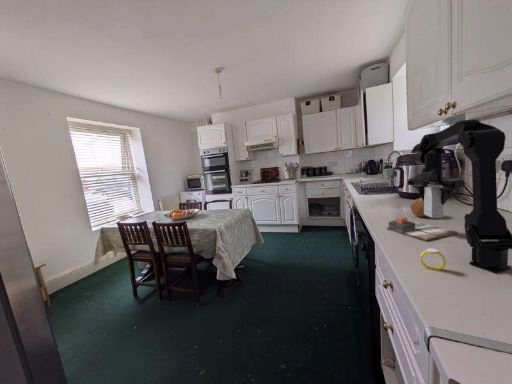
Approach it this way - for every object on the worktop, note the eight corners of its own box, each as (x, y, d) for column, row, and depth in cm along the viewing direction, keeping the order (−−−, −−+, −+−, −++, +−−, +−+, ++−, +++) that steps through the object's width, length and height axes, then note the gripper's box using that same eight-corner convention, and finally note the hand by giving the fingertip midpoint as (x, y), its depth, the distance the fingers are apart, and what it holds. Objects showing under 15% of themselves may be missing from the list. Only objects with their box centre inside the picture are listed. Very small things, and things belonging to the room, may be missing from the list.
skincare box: (443, 217, 89) (444, 188, 87) (431, 218, 90) (431, 189, 88) (434, 213, 95) (435, 186, 93) (423, 214, 96) (423, 187, 94)
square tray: (457, 233, 90) (457, 224, 90) (425, 241, 86) (425, 232, 85) (415, 223, 107) (415, 215, 107) (387, 229, 103) (386, 221, 103)
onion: (425, 213, 121) (425, 195, 119) (438, 218, 111) (439, 198, 109) (406, 215, 122) (406, 197, 120) (418, 219, 112) (418, 200, 110)
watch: (420, 269, 68) (419, 250, 67) (421, 265, 70) (419, 247, 70) (446, 272, 64) (444, 252, 64) (445, 268, 66) (444, 249, 66)
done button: (407, 224, 98) (407, 217, 98) (401, 225, 97) (401, 218, 97) (401, 222, 101) (401, 216, 101) (396, 223, 100) (395, 217, 100)
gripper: (397, 167, 96) (398, 202, 99) (444, 167, 79) (443, 210, 81) (417, 164, 99) (417, 198, 101) (466, 164, 81) (465, 205, 84)
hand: (433, 202), depth 92 cm, fingers closed on skincare box, 7 cm apart
